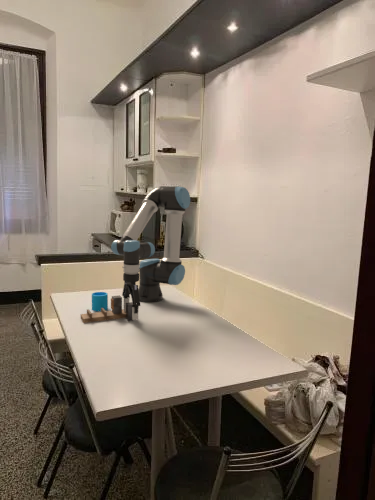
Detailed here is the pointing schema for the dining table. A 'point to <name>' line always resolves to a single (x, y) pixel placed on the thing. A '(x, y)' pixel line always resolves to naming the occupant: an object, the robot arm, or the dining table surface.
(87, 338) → the dining table surface
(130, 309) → the dark grey upright block
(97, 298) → the mug
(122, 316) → the rail
